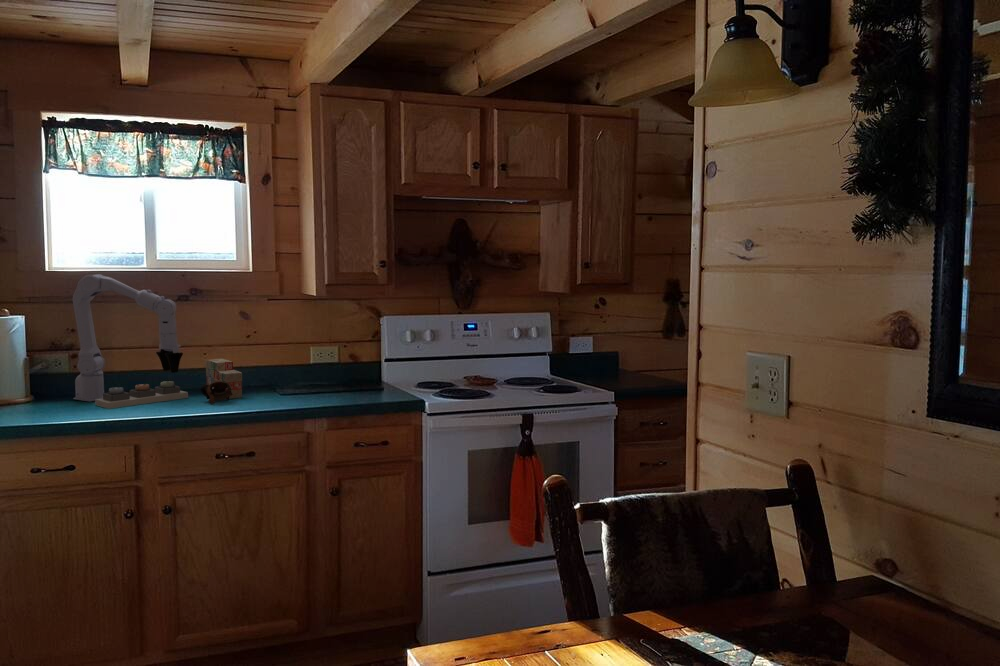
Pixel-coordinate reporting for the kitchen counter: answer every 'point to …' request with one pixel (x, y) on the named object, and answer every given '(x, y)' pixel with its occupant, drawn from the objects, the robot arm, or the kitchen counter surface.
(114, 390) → the two pip button
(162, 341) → the robot arm
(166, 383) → the one pip button
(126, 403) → the button panel
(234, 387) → the stack of blocks
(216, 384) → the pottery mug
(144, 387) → the three pip button
